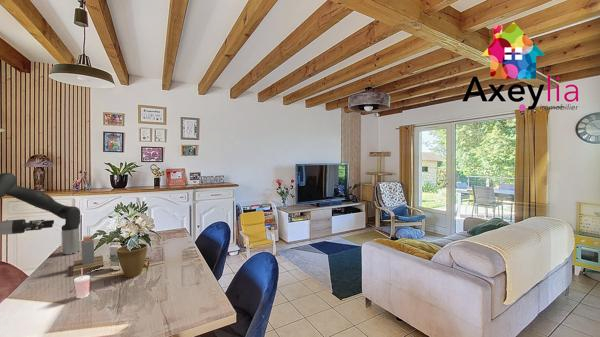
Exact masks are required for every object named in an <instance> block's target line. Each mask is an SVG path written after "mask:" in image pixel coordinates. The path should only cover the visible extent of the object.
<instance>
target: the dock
mask: <svg viewBox="0 0 600 337" xmlns="http://www.w3.org/2000/svg"><path fill="white" fill-rule="evenodd" d="M73 262H74V263H73V268H72V276H73V275H76V276H78V275H77V274H81V268H82V269H83V273H85V274H88V273H87V272H90V273H92V272H91V271H92V270H95V269H98V268H100V267H103V266H104V267H105V265H104V257H103V254H101V255H94V263H91V264H86V265H83V264H82V258H81V259H80V258H79V259H74V261H73Z"/></svg>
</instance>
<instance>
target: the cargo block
mask: <svg viewBox="0 0 600 337" xmlns="http://www.w3.org/2000/svg"><path fill="white" fill-rule="evenodd" d="M91 237H93V236H92V235H86V236H83V237H82V241H83V243H86V242H92V239H93V238H92V239H90V238H91Z"/></svg>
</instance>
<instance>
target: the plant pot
mask: <svg viewBox="0 0 600 337" xmlns="http://www.w3.org/2000/svg"><path fill="white" fill-rule="evenodd" d="M137 244H138V245H140V246H141V248H142V249H139V248H136V247H134V248H132V249H131V251H129V250H128V249H127V245H126V244H125V246H123V247H120V248H118V249H117V255H118V259H119V263H120V265H121V268H122V269H121V270H122V272H123V274H124V276H125V277H126V278H129V279H130V278H136V277H139V276H140V275H141V274H142V271H143V269H144V265H145V262H146V257H147V251H148V244H147V243H137Z"/></svg>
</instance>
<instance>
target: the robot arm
mask: <svg viewBox="0 0 600 337" xmlns="http://www.w3.org/2000/svg"><path fill="white" fill-rule="evenodd" d="M17 183H18V179H17V177H16V175H14V174H13V173H10V172H3V173H0V200H2V198H3V197H4V196H5V195H7V196H9V197H12V198H15V199H16V200H19V201H21V202H24V203H26V204H29V205H31V206H33V207H35V208H38V209H41V210H44V211H47V212H49V213H52V214H53V215H55V216H57V217H58V218H60V219H63V220H65V223H64V224H63V225H62V226H61V244H62V247H61V248H62V255H63V254H71V255H73V254H72V253H75V254H77V253H76V252H78V251H81V246H80V245H81V244H80V224H81V211H80V208H79V207H77V206H73V205H72V206H71V205H70V206H69V205H64V204H61V203H60V202H58V201H56V199H54V198H53V197H52V196H50V195H49V194H47V193H45V192H42V191H41V190H38V189H34V188H28V187H24V186H19V185H17ZM54 223H55V219H50V220H49V219H47V220H45V219H37V220H36V219H35V220H29V221H28V222H27V221H26V219H24V218H23V219H21V218H20V219H7V220H1V221H0V235H1V236H2V235H6V236H7V235H17V234H24V233H26V232H28V231H31V232H32V231H40V230H43V229H50V228H53V227H54ZM78 253H79V252H78Z"/></svg>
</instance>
